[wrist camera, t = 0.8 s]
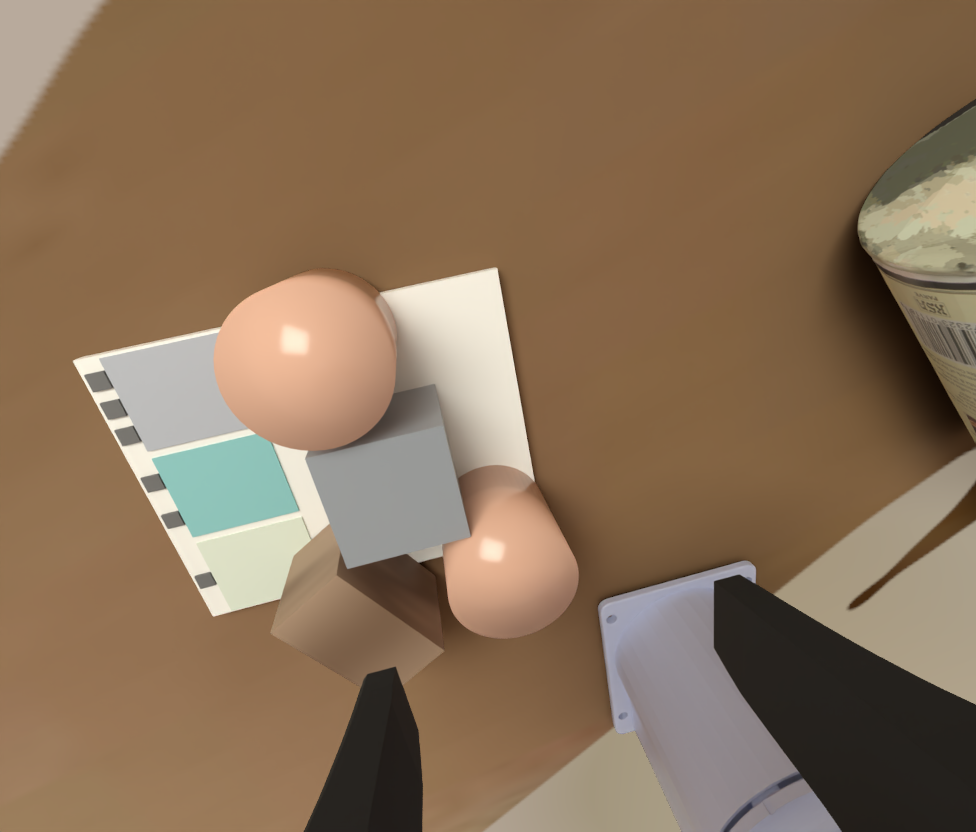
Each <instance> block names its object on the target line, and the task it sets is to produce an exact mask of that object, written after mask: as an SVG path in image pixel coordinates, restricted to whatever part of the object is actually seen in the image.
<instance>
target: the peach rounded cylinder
mask: <svg viewBox="0 0 976 832" xmlns="http://www.w3.org/2000/svg"><path fill="white" fill-rule="evenodd" d="M458 480H459V484H460V489H461V494H462V498H463V503H464V507H465V512H466V517H467V521H468V526H469V530H470V535H471V537H469V538H465V539H461V540H457V541H453V542H449V543H446V544H442V552H443V560H444V568H445V576H446V585H447V593H448V600H449V605H450V607H451V610H452V612H453V614H454V615H455V617H456V618H457V620H458V621H459V622H460V623H461V624H462V625H463V626H465V627H466V628H467V629H469V630H471V631H472V632H475V633H477V634H479V635H482V636H485V637H490V638H499V639H506V638H516V637H521V636H525V635H528V634H531V633H534V632H536V631H539V630H541V629H542V628H544V627H546V626H548V625H549V624H551V623H552V622H553V621H555V620H556V619H557V618H558V617H559V616H560V615H561V614H562V613H563V612H564V611H565V610H566V609H567V607H568V606H569V605H570V603H571V601H572V600H573V598H574V595H575V593H576V590H577V586H578V581H579V571H578V566H577V562H576V560H575V557H574V555H573V553H572V551H571V550H570V548H569V546H568V544H567V542H566V540H565V538H564V536H563V534H562V532H561V530H560V528H559V526H558V524H557V522H556V521H555V519H554V517H553V515H552V513H551V511H550V509H549V507H548V505H547V503H546V501H545V499H544V497H543V495H542V493H541V491H540V490H539V488H538V486H537V485H536V483H535V482H534V481H533V480H532V478H530V477H529V476H528V475H527V474H525V473H524V472H522V471H520V470H518V469H516V468H512V467H509V466H503V465H489V466H484V467H480V468H476V469H474V470H471V471H469V472H467V473H465V474H464V475H462V476H461V477H459V478H458Z"/></svg>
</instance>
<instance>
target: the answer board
mask: <svg viewBox="0 0 976 832" xmlns="http://www.w3.org/2000/svg"><path fill="white" fill-rule="evenodd" d="M379 293H380V294H381V295H382V296H383V298H384V299H385V301H386V302H387V304H388V305H389V307H390V309H391V311H392V313H393V316H394V319H395V322H396V327H397V338H398V339H397V359H396V377H395V387H394V392H393V393H398V392H402V391H406V390H410V389H415V388H419V387H423V386H428V385H432V384H435V386H436V390H437V394H438V399H439V403H440V407H441V411H442V415H443V419H444V423H445V427H446V431H447V435H448V439H449V443H450V447H451V451H452V455H453V459H454V463H455V467H456V471H457V475H458V478H459V477H461V476H462V475H464V474H465V473H467V472H469V471H471V470H474V469H476V468H480V467H484V466H489V465H503V466H509V467H512V468H516V469H518V470H520V471H522V472H524V473H525V474H527V475H528V476H529V477H530V478H532V480H533V481H534V475H533V469H532V464H531V458H530V452H529V447H528V441H527V435H526V429H525V424H524V418H523V412H522V407H521V401H520V395H519V390H518V384H517V378H516V373H515V367H514V361H513V356H512V350H511V344H510V338H509V333H508V327H507V321H506V316H505V310H504V304H503V299H502V293H501V287H500V282H499V276H498V270H497V268H495V267H494V268H490V269H485V270H480V271H476V272H471V273H467V274H462V275H457V276H453V277H448V278H444V279H439V280H434V281H430V282H425V283H421V284H416V285H411V286H407V287H402V288H397V289H393V290H388V291H384V292H379ZM220 329H221V327H218V328H213V329H209V330H204V331H199V332H195V333H190V334H186V335H181V336H176V337H172V338H167V339H163V340H158V341H153V342H149V343H144V344H140V345H135V346H130V347H126V348H121V349H117V350H112V351H107V352H103V353H98V354H94V355H89V356H84V357H81V358H79V359H76V360H74V361H73V362H74V364H75V366H76V368H77V370H78V371H79V373H80V375H81V377H82V379H83V380H84V382H85V384H86V386H87V388H88V390H89V391H90V393H91V395H92V397H93V399H94V400H95V402H96V404H97V406H98V408H99V410H100V411H101V413H102V415H103V417H104V419H105V420H106V422H107V424H108V426H109V428H110V430H111V431H112V433H113V435H114V437H115V439H116V441H117V442H118V444H119V446H120V448H121V450H122V451H123V453H124V455H125V457H126V459H127V461H128V462H129V464H130V466H131V468H132V470H133V471H134V473H135V475H136V477H137V479H138V481H139V482H140V484H141V486H142V488H143V490H144V491H145V493H146V495H147V497H148V499H149V501H150V502H151V504H152V506H153V508H154V510H155V511H156V513H157V515H158V517H159V519H160V521H161V522H162V524H163V526H164V528H165V530H166V532H167V533H168V535H169V537H170V539H171V541H172V542H173V544H174V546H175V548H176V550H177V552H178V553H179V555H180V557H181V559H182V561H183V562H184V564H185V566H186V568H187V570H188V572H189V573H190V575H191V577H192V579H193V581H194V582H195V584H196V586H197V588H198V590H199V592H200V593H201V595H202V597H203V599H204V601H205V603H206V604H207V606H208V608H209V610H210V612H211V613H212V615H213V616H217V615H221V614H224V613H228V612H232V611H236V610H240V609H243V608H247V607H251V606H255V605H259V604H263V603H266V602H270V601H274V600H278V599H281V596H282V593H283V589H284V586H285V583H286V579H287V576H288V573H289V569H290V566H291V563H292V559H293V556H294V555H295V554H296V553H297V552H299V551H300V550H301V549H302V548H303V547H304V546H305V545H306V544H307V543H309V542H310V541H311V540H312V539H313V538H314V537H315V536H316V535H317V534H319V533H320V532H321V531H322V530H323V529H324V528H325V527H326V526H327V525H328V524H330V523H329V520H328V518H327V515H326V512H325V510H324V507H323V505H322V502H321V499H320V497H319V494H318V492H317V489H316V486H315V484H314V481H313V479H312V476H311V473H310V471H309V468H308V466H307V463H306V460H305V457H306V455H307V453H308V451H305V450H297V449H291V448H287V447H283V446H280V445H277V444H275V443H272V442H270V441H268V440H266V439H264V438H262V437H260V436H258V435H257V434H256V433H254V432H253V431H251V430H250V429H248V428H247V427H246V426H245V425H244V424H243V423H242V422H241V421H240V420H239V419H238V418H237V417H236V416H235V415H234V414H233V413H232V411H231V410H230V408H229V407H228V405H227V404H226V402H225V401H224V399H223V397H222V395H221V393H220V390H219V387H218V385H217V382H216V377H215V372H214V360H213V358H214V348H215V343H216V339H217V336H218V334H219V331H220ZM534 482H535V481H534ZM407 554H408V555H409V556H410V557H412V558H413V559H414V560H415V561H417V562H418V563H419V562H422V561H426V560H430V559H434V558H438V557H441V556H443V552H442V545H438V546H434V547H430V548H426V549H423V550H419V551H415V552H411V553H407Z"/></svg>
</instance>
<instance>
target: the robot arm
mask: <svg viewBox="0 0 976 832" xmlns="http://www.w3.org/2000/svg"><path fill="white" fill-rule="evenodd" d="M598 613H599V620H600V628H601V635H602V643H603V651H604V658H605V666H606V673H607V681H608V689H609V696H610V704H611V711H612V719H613V725H614V728H615V730H616V732H617V733H619V734H625V733H628V732H632V731H635V732H636V734H637V736H638V738H639V740H640V742H641V745H642V747H643V749H644V751H645V753H646V756H647V758H648V760H649V762H650V764H651V766H652V769H653V771H654V773H655V775H656V777H657V779H658V782H659V784H660V786H661V788H662V790H663V793H664V795H665V797H666V799H667V801H668V803H669V806H670V808H671V810H672V812H673V814H674V817H675V819H676V821H677V823H678V825H679V827H680V830H681V832H976V705H975V704H973V703H971V702H969V701H967V700H965V699H962V698H961V697H958V696H956V695H954V694H952V693H950V692H948V691H945V690H943V689H941V688H939V687H937V686H935V685H933V684H931V683H929V682H927V681H925V680H923V679H921V678H919V677H917V676H915V675H913V674H912V673H910V672H908V671H906V670H904V669H902V668H900V667H898V666H896V665H894V664H893V663H891V662H889V661H887V660H885V659H883V658H881V657H879V656H877V655H875V654H874V653H872V652H870V651H868V650H866V649H865V648H863V647H861V646H859V645H857V644H856V643H854V642H852V641H850V640H849V639H846V638H845V637H843V636H841V635H840V634H838V633H836V632H835V631H833V630H831V629H829V628H828V627H826V626H824V625H823V624H821V623H819V622H817V621H816V620H814V619H813V618H811V617H809V616H807V615H806V614H804V613H803V612H801V611H799V610H798V609H796V608H794V607H793V606H791V605H789V604H788V603H786V602H784V601H783V600H781V599H779V598H778V597H776V596H774V595H773V594H771V593H770V592H768V591H766V590H765V589H763V588H761V587H760V586H758V585H756V568H755V566H754V565H753V564H752V563H751V562H749V561H741V562H737V563H733V564H730V565H726V566H723V567H719V568H715V569H712V570H708V571H704V572H701V573H697V574H694V575H690V576H686V577H683V578H679V579H676V580H672V581H668V582H665V583H661V584H658V585H654V586H650V587H647V588H643V589H639V590H636V591H632V592H629V593H625V594H621V595H618V596H614V597H611V598H607V599H605V600H603V601H602V602H601V603H600V604H599V606H598ZM611 615H612V616H611ZM609 616H611V617H609ZM422 806H423V783H422V769H421V756H420V744H419V732H418V728H417V725H416V722H415V719H414V717H413V714H412V711H411V708H410V705H409V702H408V700H407V697H406V694H405V691H404V688H403V686H402V683H401V680H400V677H399V674H398V671H397V669H396V667H392V668H388V669H384V670H381V671H377V672H373V673H370V674H367V675H366V677H365V678H364V679H363V683H362V686H361V689H360V692H359V695H358V698H357V701H356V704H355V707H354V710H353V713H352V715H351V718H350V721H349V724H348V726H347V729H346V732H345V735H344V737H343V740H342V743H341V745H340V748H339V750H338V753H337V755H336V758H335V760H334V763H333V765H332V768H331V770H330V773H329V775H328V778H327V780H326V782H325V785H324V787H323V790H322V792H321V795H320V797H319V799H318V802H317V804H316V806H315V808H314V810H313V813H312V815H311V817H310V819H309V821H308V824H307V826H306V828H305V830H304V832H422Z"/></svg>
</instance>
